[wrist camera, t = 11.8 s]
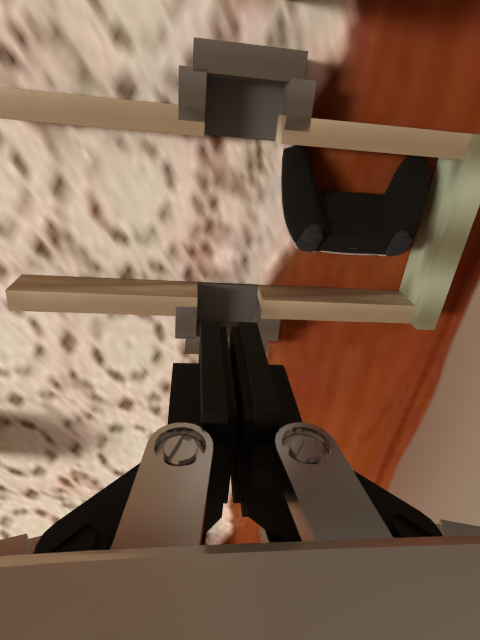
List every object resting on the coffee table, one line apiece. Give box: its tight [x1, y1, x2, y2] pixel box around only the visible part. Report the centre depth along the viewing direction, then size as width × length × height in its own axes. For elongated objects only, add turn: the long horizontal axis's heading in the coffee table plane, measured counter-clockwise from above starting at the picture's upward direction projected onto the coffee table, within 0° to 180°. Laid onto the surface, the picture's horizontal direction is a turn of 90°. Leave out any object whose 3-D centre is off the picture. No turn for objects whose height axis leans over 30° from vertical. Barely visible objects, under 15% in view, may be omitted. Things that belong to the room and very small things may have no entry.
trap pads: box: [197, 76, 282, 322], centre depth 30 cm, size 18×5×1 cm, turn 175°
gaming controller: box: [281, 145, 429, 256], centre depth 29 cm, size 11×4×7 cm
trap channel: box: [0, 38, 480, 354], centre depth 28 cm, size 21×33×4 cm, turn 85°
